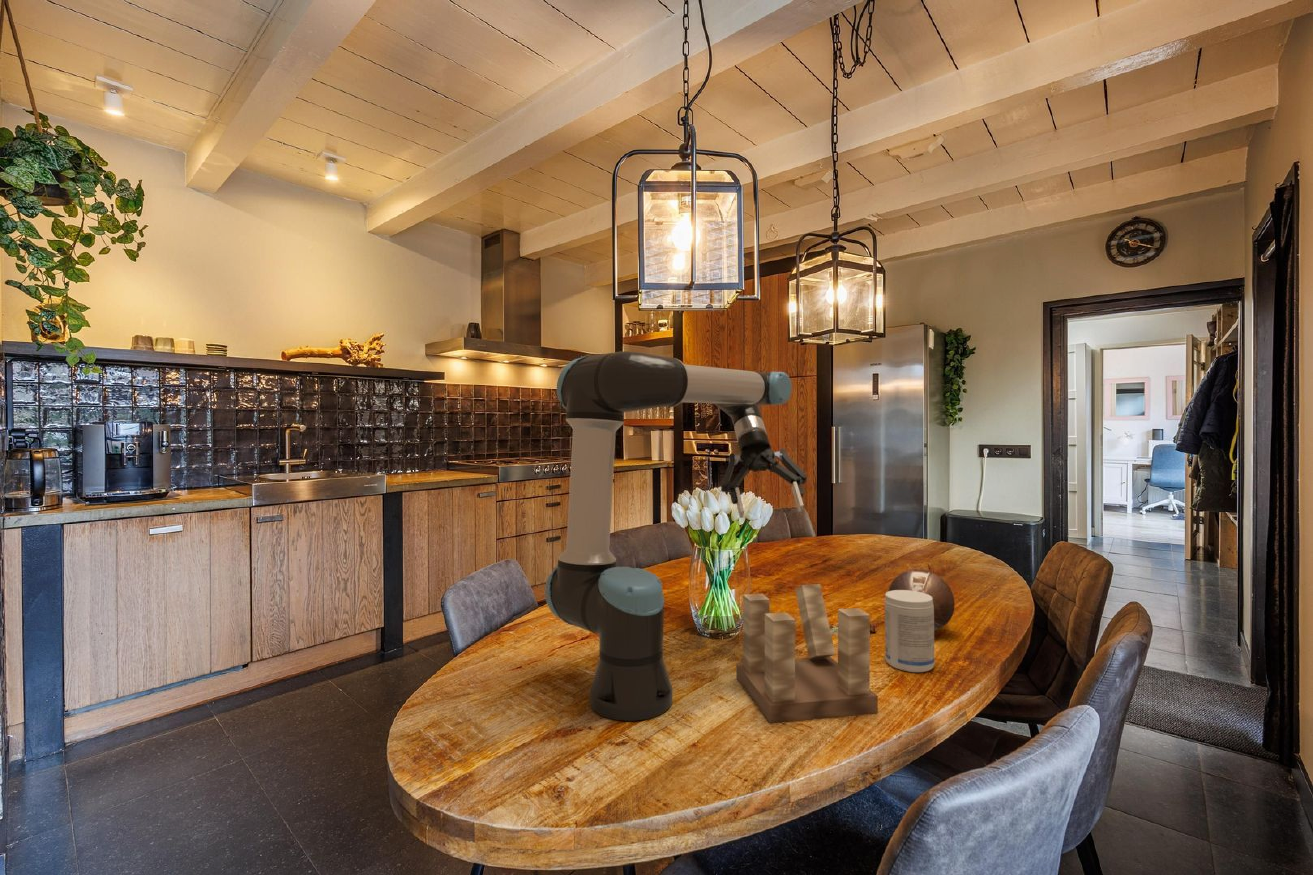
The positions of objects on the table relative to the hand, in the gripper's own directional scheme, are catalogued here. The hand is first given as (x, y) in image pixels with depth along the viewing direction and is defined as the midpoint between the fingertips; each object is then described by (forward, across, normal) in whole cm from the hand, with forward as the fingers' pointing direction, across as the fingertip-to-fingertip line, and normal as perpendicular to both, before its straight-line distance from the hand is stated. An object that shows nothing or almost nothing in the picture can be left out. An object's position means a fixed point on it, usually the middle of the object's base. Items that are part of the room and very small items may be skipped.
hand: (771, 511), depth 132 cm
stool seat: (+38, +3, -2) cm, 39 cm away
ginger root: (+20, -19, -29) cm, 40 cm away
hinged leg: (+31, -4, -5) cm, 32 cm away
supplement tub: (+33, -24, -13) cm, 42 cm away
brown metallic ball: (+21, -36, -29) cm, 51 cm away
